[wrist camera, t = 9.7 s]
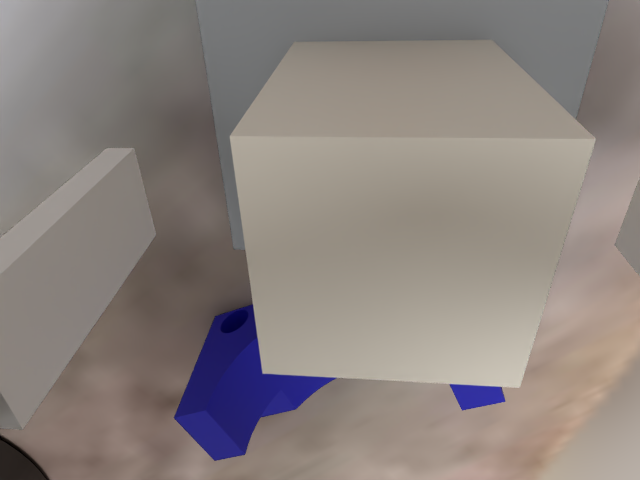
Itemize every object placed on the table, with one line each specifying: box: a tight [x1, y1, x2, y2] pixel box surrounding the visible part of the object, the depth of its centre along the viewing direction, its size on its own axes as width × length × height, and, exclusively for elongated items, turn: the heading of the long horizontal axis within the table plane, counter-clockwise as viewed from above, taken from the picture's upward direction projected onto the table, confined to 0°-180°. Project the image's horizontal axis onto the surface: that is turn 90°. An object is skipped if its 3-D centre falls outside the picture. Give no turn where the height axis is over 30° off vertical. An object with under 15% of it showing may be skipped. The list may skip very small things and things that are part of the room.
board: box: [195, 0, 609, 250], centre depth 13 cm, size 12×16×6 cm
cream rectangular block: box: [230, 40, 596, 388], centre depth 13 cm, size 6×6×8 cm
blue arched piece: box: [174, 304, 506, 461], centre depth 20 cm, size 12×4×6 cm, turn 116°
